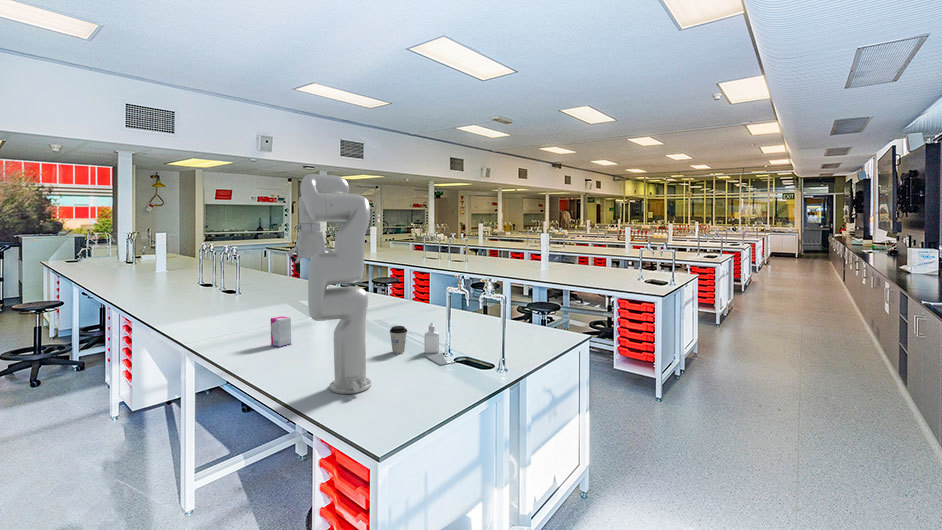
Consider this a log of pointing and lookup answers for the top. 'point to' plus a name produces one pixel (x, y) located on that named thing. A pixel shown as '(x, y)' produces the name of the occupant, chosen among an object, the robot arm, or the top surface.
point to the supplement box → (280, 331)
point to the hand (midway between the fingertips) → (311, 272)
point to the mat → (437, 358)
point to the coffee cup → (398, 338)
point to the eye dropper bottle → (431, 340)
